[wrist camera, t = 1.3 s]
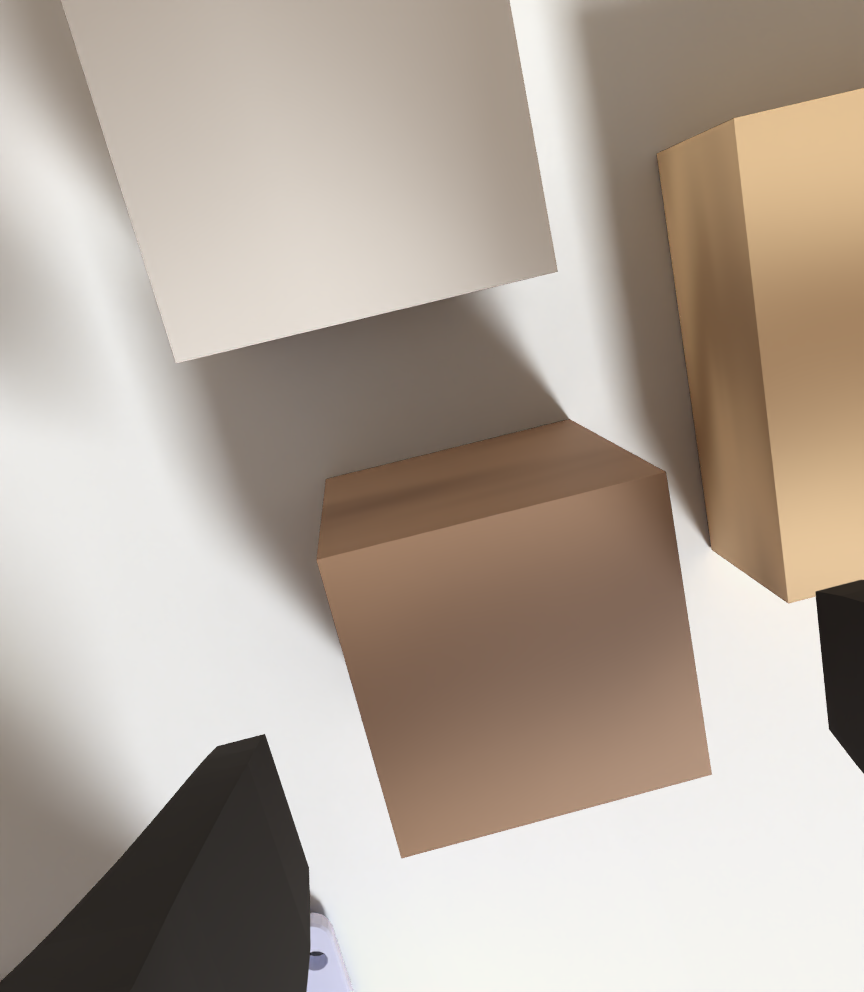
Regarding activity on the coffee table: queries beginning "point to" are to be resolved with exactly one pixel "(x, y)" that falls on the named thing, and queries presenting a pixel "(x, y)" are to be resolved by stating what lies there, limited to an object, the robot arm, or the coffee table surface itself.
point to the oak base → (776, 335)
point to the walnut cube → (513, 631)
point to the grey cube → (314, 157)
